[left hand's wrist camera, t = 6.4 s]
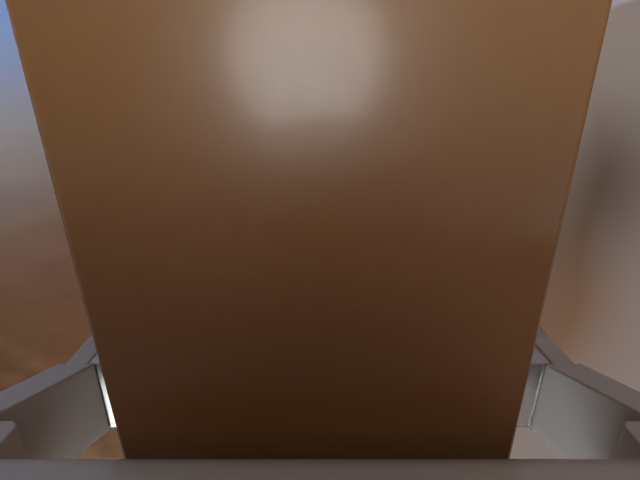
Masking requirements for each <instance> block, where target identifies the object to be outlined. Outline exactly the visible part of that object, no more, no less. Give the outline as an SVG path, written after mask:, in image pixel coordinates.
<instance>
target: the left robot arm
mask: <svg viewBox="0 0 640 480" xmlns="http://www.w3.org/2000/svg"><path fill="white" fill-rule="evenodd" d="M110 427H116V424H115V420H114V416H113V413H112V409H111V405H110V401H109V397H108V393H107V390H106V386H105V382H104V378H103V374H102V370H101V366H100V363H99V359H98V355H97V351H96V347H95V343H94V340H93V336H91V337H90V338H89V339H88V340H87V341H86V342H85V343H84V344H83V345H82V347H81V348H80V349H79V350H78V351H77V352H76V353H75V354H74V355H73V356H72V357H71V358H70V360H69V361H68V362H67V363H66V364H58V365H56V366H54V367H52V368H50V369H48V370H46V371H43V372H41V373H39V374H37V375H35V376H33V377H31V378H29V379H27V380H25V381H23V382H20V383H18V384H16V385H14V386H12V387H10V388H8V389H6V390H4V391H2V392H0V480H640V392H638V391H636V390H634V389H632V388H630V387H628V386H626V385H624V384H621V383H619V382H617V381H615V380H613V379H611V378H609V377H607V376H605V375H603V374H601V373H599V372H597V371H594V370H592V369H590V368H588V367H586V366H584V365H582V364H574V363H573V362H572V361H571V360H570V358H568V356H567V355H566V354H565V353H564V352H563V351H562V350H561V349H560V348H559V347H558V345H557V344H556V343H555V342H554V341H553V340H552V339H551V338H550V337H549V336H548V335H547V333H546V332H545V331H544V330H543V329H542V328H541V327H539V328H538V333H537V337H536V342H535V346H534V351H533V355H532V360H531V364H530V369H529V373H528V377H527V382H526V386H525V391H524V395H523V400H522V404H521V409H520V413H519V418H518V422H517V427H530V429H531V430H532V431H533V432H534V433H536V434H537V435H538V436H539V437H541V438H542V439H543V440H544V441H545V442H547V443H548V444H549V445H550V446H552V447H553V448H554V449H555V450H556V451H558V452H559V453H560V454H561V455H563V456H564V457H565V458H566V459H74V458H75V457H76V456H78V455H79V454H80V453H81V452H83V451H84V450H85V449H86V448H87V447H89V446H90V445H91V444H92V443H94V442H95V441H96V440H97V439H98V438H100V437H101V436H102V435H103V434H105V433H106V432H107V431H108V430H109V429H110Z"/></svg>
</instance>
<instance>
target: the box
mask: <svg viewBox="0 0 640 480" xmlns="http://www.w3.org/2000/svg"><path fill="white" fill-rule="evenodd" d="M5 2H6V6H7V9H8V13H9V17H10V21H11V25H12V29H13V32H14V36H15V40H16V44H17V48H18V52H19V55H20V59H21V63H22V67H23V71H24V75H25V78H26V82H27V86H28V90H29V94H30V98H31V102H32V105H33V109H34V113H35V117H36V121H37V125H38V128H39V132H40V136H41V140H42V144H43V148H44V151H45V155H46V159H47V163H48V167H49V171H50V174H51V178H52V182H53V186H54V190H55V194H56V198H57V201H58V205H59V209H60V213H61V217H62V221H63V224H64V228H65V232H66V236H67V240H68V244H69V247H70V251H71V255H72V259H73V263H74V267H75V270H76V274H77V278H78V282H79V286H80V290H81V294H82V297H83V301H84V305H85V309H86V313H87V317H88V320H89V324H90V328H91V332H92V336H93V340H94V343H95V347H96V351H97V355H98V359H99V363H100V366H101V370H102V374H103V378H104V382H105V386H106V390H107V393H108V397H109V401H110V405H111V409H112V413H113V416H114V420H115V424H116V428H117V432H118V436H119V439H120V443H121V447H122V451H123V455H124V459H509V458H510V453H511V449H512V444H513V440H514V435H515V431H516V427H517V422H518V418H519V413H520V409H521V404H522V400H523V395H524V391H525V386H526V382H527V377H528V373H529V369H530V364H531V360H532V355H533V351H534V346H535V342H536V337H537V333H538V328H539V324H540V319H541V315H542V311H543V306H544V302H545V297H546V293H547V288H548V284H549V279H550V275H551V270H552V266H553V261H554V257H555V253H556V248H557V244H558V239H559V235H560V230H561V226H562V221H563V217H564V212H565V208H566V203H567V199H568V194H569V190H570V186H571V181H572V177H573V172H574V168H575V163H576V159H577V154H578V150H579V145H580V141H581V136H582V132H583V128H584V123H585V119H586V114H587V110H588V105H589V101H590V96H591V92H592V87H593V83H594V79H595V74H596V70H597V65H598V61H599V56H600V52H601V47H602V43H603V38H604V34H605V29H606V25H607V20H608V16H609V12H610V7H611V3H612V0H5Z"/></svg>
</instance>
